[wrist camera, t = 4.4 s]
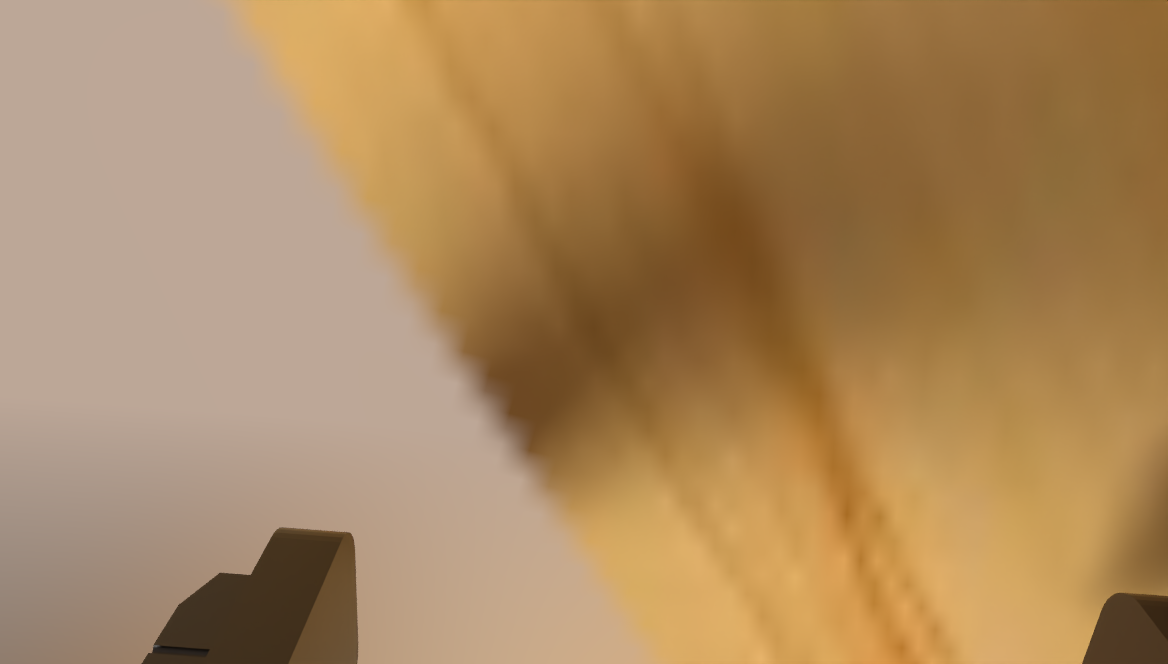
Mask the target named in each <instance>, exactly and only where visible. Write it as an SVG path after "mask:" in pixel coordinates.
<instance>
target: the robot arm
mask: <svg viewBox="0 0 1168 664" xmlns="http://www.w3.org/2000/svg"><path fill="white" fill-rule="evenodd" d="M355 568H356V566H355V545H354V539H353V536H352V534H351V533H348V532H335V531H322V530H308V529H296V528H279V529H277V530H276V531H275V533H274V534H273V536H272V537H271V539H270V541H269V543H268V544H267V546H266V548H265V550H264V552H263V554H262V555H261V557H260V559H259V561H258V563H257V565H256V566H255V568H254V570H253V572H252V574H251V575H242V574H228V573H219V574H218V575H217V576H215V577H214V578H213V579H212V580H210V581H209V582H208V583H206V584H205V585H204V586H203V587H201V588H200V589H199V590H197V591H196V592H195V593H194V594H192V595H191V596H190V597H188V598H187V599H186V600H185V601H183V602H182V603H181V604H179V605H178V607H177V609H176V610H175V612H174V613H173V615H172V617H171V618H170V620H169V621H168V623H167V624H166V626H165V628H164V629H163V631H162V632H161V634H160V636H159V637H158V639H157V640H156V642H155V644H154V647H153V652H152V653H148V655H147V656H146V658H145V659H144V661H143V663H142V664H357V660H358V626H357V597H356V569H355ZM1082 664H1168V596H1157V595H1144V594H1130V593H1117V594H1114V595H1112V596H1111V597H1110V598H1109V599H1108V600H1107V601H1106V603H1105V604H1104V606H1103V608H1102V611H1101V613H1100V616H1099V619H1098V622H1097V624H1096V627H1095V630H1094V633H1093V635H1092V638H1091V641H1090V644H1089V646H1088V649H1087V652H1086V655H1085V657H1084V660H1083V663H1082Z"/></svg>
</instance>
